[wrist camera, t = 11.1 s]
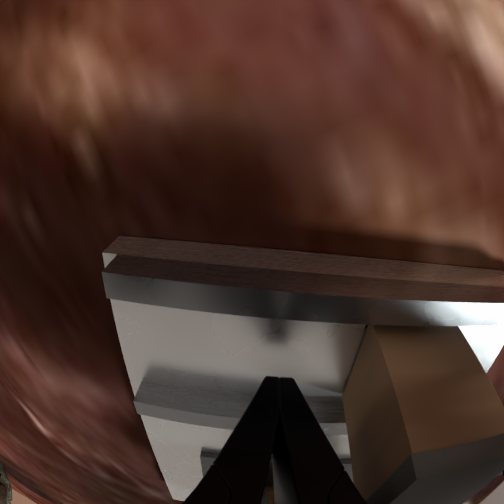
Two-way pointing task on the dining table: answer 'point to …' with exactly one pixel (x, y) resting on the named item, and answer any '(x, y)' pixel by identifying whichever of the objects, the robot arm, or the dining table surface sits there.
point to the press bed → (267, 333)
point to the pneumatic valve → (3, 492)
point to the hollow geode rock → (6, 483)
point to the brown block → (421, 417)
